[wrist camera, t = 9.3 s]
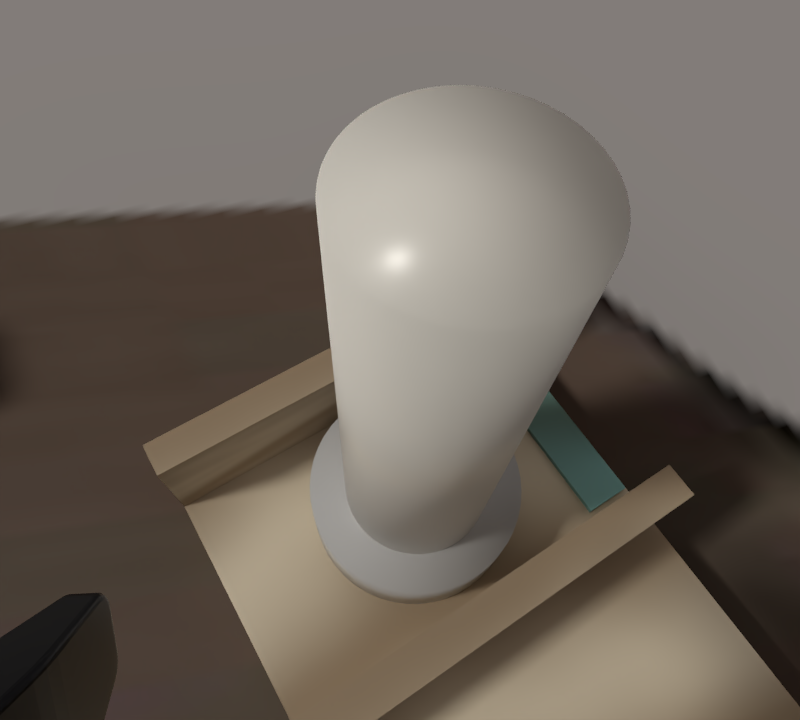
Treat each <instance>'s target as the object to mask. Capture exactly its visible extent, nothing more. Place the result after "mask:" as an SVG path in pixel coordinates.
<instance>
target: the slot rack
mask: <svg viewBox="0 0 800 720" xmlns="http://www.w3.org/2000/svg"><path fill="white" fill-rule="evenodd" d="M337 419H338V412H337V402H336V393H335V383H334V373H333V364H332V354H331V348H329V349H327V350H325V351H323V352H322V353H320V354H318V355H316V356H314V357H312V358H310V359H308V360H306V361H304V362H302V363H300V364H298V365H296V366H295V367H293V368H291V369H289V370H287V371H285V372H283V373H281V374H279V375H277V376H275V377H273V378H271V379H269V380H267V381H266V382H264V383H262V384H260V385H258V386H256V387H254V388H252V389H250V390H248V391H246V392H244V393H242V394H240V395H239V396H237V397H235V398H233V399H231V400H229V401H227V402H225V403H223V404H221V405H219V406H217V407H215V408H213V409H212V410H210V411H208V412H206V413H204V414H202V415H200V416H198V417H196V418H194V419H192V420H190V421H188V422H186V423H185V424H183V425H181V426H179V427H177V428H175V429H173V430H171V431H169V432H167V433H165V434H163V435H161V436H159V437H158V438H156V439H154V440H152V441H150V442H148V443H146V444H144V445H143V447H144V449H145V451H146V453H147V456H148V458H149V460H150V462H151V464H152V466H153V468H154V470H155V472H156V474H157V476H158V477H159V478H160V479H161V480H162V482H163V483H164V484H165V485H166V486H167V487H168V488H169V489H170V491H171V492H172V493H173V494H174V495H175V496H176V497H177V499H178V500H179V501H180V502H181V503H182V504H183V505H184V506H185V508H186V510H187V512H188V515H189V517H190V519H191V521H192V523H193V525H194V527H195V529H196V531H197V533H198V535H199V537H200V539H201V541H202V543H203V545H204V547H205V549H206V551H207V553H208V555H209V557H210V559H211V561H212V563H213V565H214V567H215V569H216V571H217V573H218V575H219V577H220V579H221V581H222V583H223V585H224V587H225V589H226V591H227V593H228V595H229V597H230V599H231V601H232V603H233V605H234V607H235V610H236V612H237V614H238V616H239V618H240V620H241V622H242V624H243V626H244V628H245V630H246V632H247V634H248V636H249V638H250V640H251V642H252V644H253V646H254V648H255V650H256V652H257V654H258V656H259V658H260V660H261V662H262V664H263V666H264V668H265V670H266V672H267V674H268V676H269V678H270V680H271V682H272V684H273V686H274V688H275V690H276V692H277V694H278V696H279V698H280V700H281V703H282V705H283V707H284V709H285V711H286V713H287V715H288V717H289V719H290V720H800V707H799V705H798V704H797V703H796V702H795V700H794V699H793V698H792V697H791V695H790V694H789V693H788V692H787V690H786V689H785V688H784V687H783V685H782V684H781V683H780V681H779V680H778V679H777V678H776V676H775V675H774V674H773V673H772V671H771V670H770V669H769V668H768V666H767V665H766V664H765V663H764V661H763V660H762V659H761V658H760V656H759V655H758V654H757V653H756V651H755V650H754V649H753V647H752V646H751V645H750V644H749V642H748V641H747V640H746V639H745V637H744V636H743V635H742V634H741V632H740V631H739V630H738V629H737V627H736V626H735V625H734V624H733V622H732V621H731V620H730V619H729V617H728V616H727V615H726V613H725V612H724V611H723V610H722V608H721V607H720V606H719V605H718V603H717V602H716V601H715V600H714V598H713V597H712V596H711V595H710V593H709V592H708V591H707V590H706V588H705V587H704V586H703V585H702V583H701V582H700V581H699V579H698V578H697V577H696V576H695V574H694V573H693V572H692V571H691V569H690V568H689V567H688V566H687V564H686V563H685V562H684V561H683V559H682V558H681V557H680V556H679V554H678V553H677V552H676V551H675V549H674V548H673V547H672V545H671V544H670V543H669V542H668V540H667V539H666V538H665V537H664V535H663V534H662V533H661V532H660V530H659V529H658V528H657V527H656V525H655V524H654V523H655V522H657V521H658V520H660V519H661V518H662V517H664V516H665V515H667V514H668V513H669V512H671V511H672V510H674V509H675V508H677V507H678V506H679V505H681V504H682V503H684V502H685V501H686V500H688V499H689V498H691V497H692V496H693V495H694V494H693V492H692V491H691V490H690V489H689V488H688V486H687V485H686V484H685V483H684V482H683V480H682V479H681V478H680V477H679V476H678V474H677V473H676V472H675V471H674V470H673V469H672V467H671V466H670V465H668V466H666V467H665V468H664V469H662V470H661V471H659V472H658V473H656V474H655V475H653V476H652V477H650V478H649V479H647V480H646V481H644V482H643V483H642V484H640V485H639V486H637V487H636V488H634V489H633V490H631V491H630V492H629V491H628V490H627V489H626V488H625V486H624V485H623V484H622V483H621V481H620V480H619V479H618V477H617V476H616V475H615V474H614V472H613V471H612V470H611V469H610V467H609V466H608V465H607V464H606V462H605V461H604V460H603V459H602V457H601V456H600V455H599V454H598V452H597V451H596V450H595V449H594V447H593V446H592V445H591V443H590V442H589V441H588V440H587V438H586V437H585V436H584V435H583V433H582V432H581V431H580V430H579V428H578V427H577V426H576V425H575V423H574V422H573V421H572V420H571V418H570V417H569V416H568V415H567V413H566V412H565V411H564V409H563V408H562V407H561V406H560V404H559V403H558V402H557V401H556V399H555V398H554V397H553V396H552V394H551V393H550V392H549V391H548V393H547V395H546V397H545V399H544V400H543V402H542V404H541V406H540V408H539V410H538V411H537V413H536V415H535V417H534V419H533V420H532V422H531V424H530V426H529V428H528V429H527V431H526V433H525V435H524V437H523V439H522V440H521V442H520V444H519V446H518V448H517V449H516V451H515V453H514V456H515V459H516V461H517V464H518V468H519V473H520V478H521V491H522V492H521V506H520V511H519V516H518V520H517V523H516V526H515V529H514V531H513V533H512V535H511V537H510V539H509V541H508V543H507V545H506V546H505V548H504V549H503V550H502V552H501V553H500V555H499V556H498V557H497V559H496V560H495V561H494V562H493V563H492V565H491V566H490V567H489V568H488V570H487V571H486V572H485V573H484V574H483V575H482V576H481V577H480V578H479V579H478V580H477V581H476V582H474V583H473V584H472V585H471V586H469V587H468V588H466V589H465V590H463V591H461V592H460V593H458V594H456V595H453V596H451V597H449V598H446V599H443V600H439V601H436V602H431V603H423V604H403V603H397V602H391V601H388V600H384V599H381V598H378V597H376V596H374V595H371V594H369V593H367V592H365V591H364V590H362V589H361V588H359V587H357V586H356V585H354V584H353V583H352V582H351V581H350V580H348V579H347V578H346V577H345V576H344V575H343V574H342V573H341V572H340V571H339V570H338V568H337V567H336V566H335V565H334V563H333V562H332V560H331V559H330V557H329V556H328V554H327V552H326V550H325V548H324V546H323V544H322V541H321V539H320V536H319V533H318V529H317V526H316V522H315V519H314V515H313V510H312V505H311V500H310V476H311V470H312V465H313V460H314V457H315V455H316V452H317V449H318V447H319V445H320V443H321V441H322V439H323V437H324V435H325V434H326V433H327V431H328V430H329V428H330V427H331V425H332V424H333V423H334V422H335V421H336V420H337Z"/></svg>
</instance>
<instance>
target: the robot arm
mask: <svg viewBox="0 0 800 720" xmlns="http://www.w3.org/2000/svg"><path fill="white" fill-rule="evenodd" d="M117 667H118V653H117V646H116V640H115V634H114V628H113V622H112V616H111V610H110V605H109V602H108V599H107V597H106V596H105V595H103V594H102V593H86V594H69V595H66V596H64V597H62V598H60V599H59V600H57V601H56V602H54V603H53V604H51V605H50V606H48V607H47V608H45V609H44V610H42V611H41V612H39V613H38V614H36V615H34V616H33V617H31V618H30V619H28V620H27V621H25V622H24V623H22V624H21V625H19V626H18V627H16V628H15V629H13V630H12V631H10V632H8V633H7V634H5V635H4V636H2V637H1V638H0V720H104V719H105V715H106V711H107V708H108V704H109V700H110V697H111V693H112V689H113V686H114V682H115V678H116V674H117Z"/></svg>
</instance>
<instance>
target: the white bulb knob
mask: <svg viewBox="0 0 800 720" xmlns="http://www.w3.org/2000/svg"><path fill="white" fill-rule="evenodd" d="M315 199H316V210H317V221H318V230H319V240H320V249H321V259H322V268H323V278H324V287H325V297H326V307H327V316H328V326H329V335H330V345H331V354H332V364H333V373H334V383H335V393H336V402H337V412H338V419H337V420H336V421H335V422H334V423H333V424H332V425H331V427H330V428H329V430H328V431H327V433H326V434H325V435H324V437H323V439H322V441H321V443H320V445H319V447H318V449H317V452H316V455H315V457H314V460H313V465H312V470H311V476H310V500H311V505H312V510H313V515H314V519H315V522H316V526H317V529H318V533H319V536H320V539H321V541H322V544H323V546H324V548H325V550H326V552H327V554H328V556H329V557H330V559H331V560H332V562H333V563H334V565H335V566H336V567H337V568H338V570H339V571H340V572H341V573H342V574H343V575H344V576H345V577H346V578H347V579H348V580H350V581H351V582H352V583H353V584H354V585H356V586H357V587H359V588H361V589H362V590H364V591H365V592H367V593H369V594H371V595H374V596H376V597H378V598H381V599H384V600H388V601H391V602H397V603H403V604H423V603H431V602H436V601H439V600H443V599H446V598H449V597H451V596H453V595H456V594H458V593H460V592H461V591H463V590H465V589H466V588H468V587H469V586H471V585H472V584H473V583H474V582H476V581H477V580H478V579H479V578H480V577H481V576H482V575H483V574H484V573H485V572H486V571H487V570H488V568H489V567H490V566H491V565H492V563H493V562H494V561H495V560H496V559H497V557H498V556H499V555H500V553H501V552H502V550H503V549H504V548H505V546H506V545H507V543H508V541H509V539H510V537H511V535H512V533H513V531H514V529H515V526H516V523H517V520H518V516H519V511H520V506H521V492H522V491H521V478H520V473H519V468H518V464H517V461H516V459H515V456H514V453H515V451H516V449H517V448H518V446H519V444H520V442H521V440H522V439H523V437H524V435H525V433H526V431H527V429H528V428H529V426H530V424H531V422H532V420H533V419H534V417H535V415H536V413H537V411H538V410H539V408H540V406H541V404H542V402H543V400H544V399H545V397H546V395H547V393H548V391H549V390H550V388H551V386H552V384H553V382H554V380H555V379H556V377H557V375H558V373H559V371H560V370H561V368H562V366H563V364H564V362H565V360H566V359H567V357H568V355H569V353H570V351H571V350H572V348H573V346H574V344H575V342H576V340H577V339H578V337H579V335H580V333H581V331H582V330H583V328H584V326H585V324H586V322H587V321H588V319H589V317H590V315H591V313H592V311H593V310H594V308H595V306H596V304H597V302H598V301H599V299H600V297H601V295H602V293H603V291H604V290H605V288H606V286H607V284H608V282H609V280H610V279H611V277H612V275H613V273H614V271H615V270H616V268H617V266H618V264H619V262H620V260H621V258H622V256H623V254H624V251H625V248H626V245H627V242H628V238H629V231H630V205H629V200H628V195H627V191H626V188H625V185H624V182H623V180H622V178H621V175H620V173H619V171H618V169H617V167H616V166H615V163H614V162H613V160H612V159H611V158H610V156H609V155H608V154H607V152H606V151H605V149H604V148H603V147H602V146H601V145H600V144H599V143H598V141H597V140H596V139H595V138H594V137H593V136H592V135H591V134H590V133H588V132H587V131H586V130H585V129H584V128H583V127H582V126H580V125H579V124H578V123H576V122H575V121H573V120H572V119H571V118H569V117H568V116H566V115H565V114H563V113H561V112H559V111H557V110H556V109H554V108H552V107H550V106H549V105H546V104H544V103H542V102H539V101H537V100H535V99H532V98H530V97H526V96H524V95H520V94H517V93H514V92H510V91H506V90H501V89H496V88H489V87H482V86H470V85H469V86H468V85H450V86H437V87H431V88H424V89H419V90H415V91H411V92H408V93H404V94H401V95H398V96H395V97H393V98H390V99H388V100H386V101H384V102H381V103H379V104H378V105H376V106H373V107H372V108H370V109H369V110H367V111H366V112H364V113H363V114H361V115H360V116H358V117H357V118H356V119H355V120H354V121H352V122H351V123H350V124H349V125H348V126H347V127H346V128H345V129H344V130H343V131H342V132H341V134H339V136H338V137H337V138H336V139H335V141H334V142H333V144H332V145H331V147H330V148H329V150H328V152H327V153H326V156H325V158H324V160H323V162H322V165H321V167H320V171H319V175H318V179H317V185H316V197H315Z"/></svg>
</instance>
